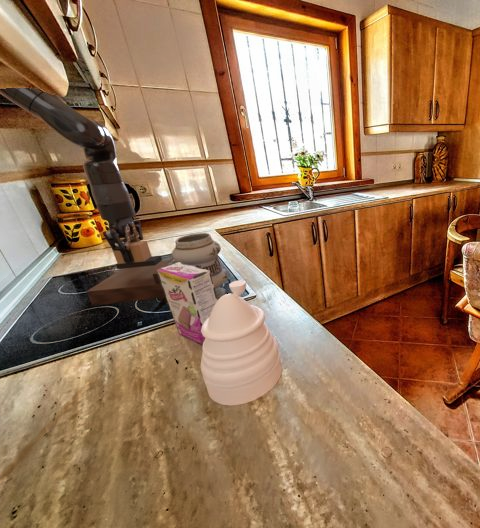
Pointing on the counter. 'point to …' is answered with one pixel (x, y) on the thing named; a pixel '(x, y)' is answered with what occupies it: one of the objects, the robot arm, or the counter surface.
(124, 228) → the robot arm
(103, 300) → the shelf
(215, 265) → the apothecary jar
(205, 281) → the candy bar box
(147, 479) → the counter surface
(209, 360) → the honey pot
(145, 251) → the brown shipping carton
